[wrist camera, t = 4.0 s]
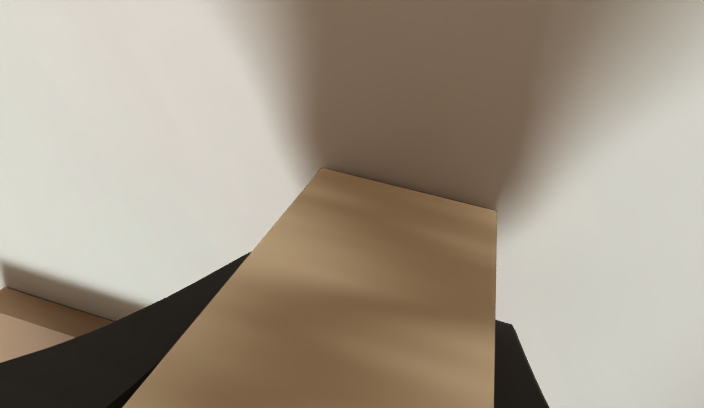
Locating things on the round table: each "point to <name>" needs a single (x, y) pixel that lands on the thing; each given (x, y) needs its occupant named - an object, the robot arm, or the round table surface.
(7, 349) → the well stand
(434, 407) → the maple post
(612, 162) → the round table surface
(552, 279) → the round table surface
